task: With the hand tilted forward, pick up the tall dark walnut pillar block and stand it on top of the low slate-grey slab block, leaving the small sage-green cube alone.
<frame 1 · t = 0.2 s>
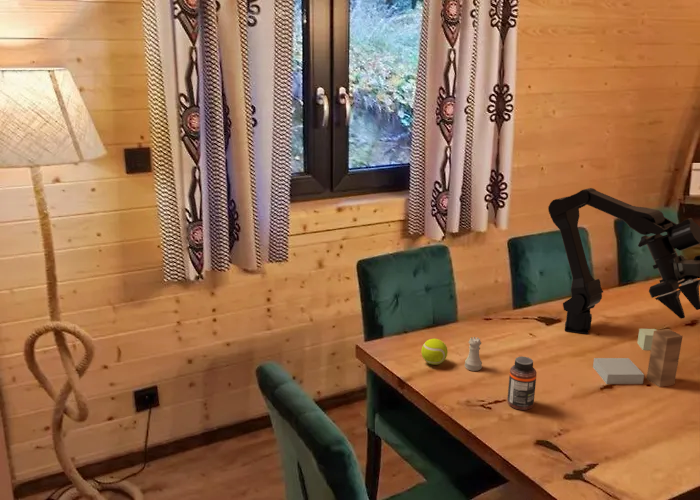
hand: (691, 313, 173), 15 cm above the table, tool tilted 35°, fingers open, 9 cm apart
tennis ball: (433, 364, 177), on the table
slate slab: (616, 376, 172), on the table
supplement bottle: (520, 405, 157), on the table
rook chess piece: (473, 368, 175), on the table
sage cube: (648, 347, 188), on the table
walnut pillar: (660, 381, 169), on the table
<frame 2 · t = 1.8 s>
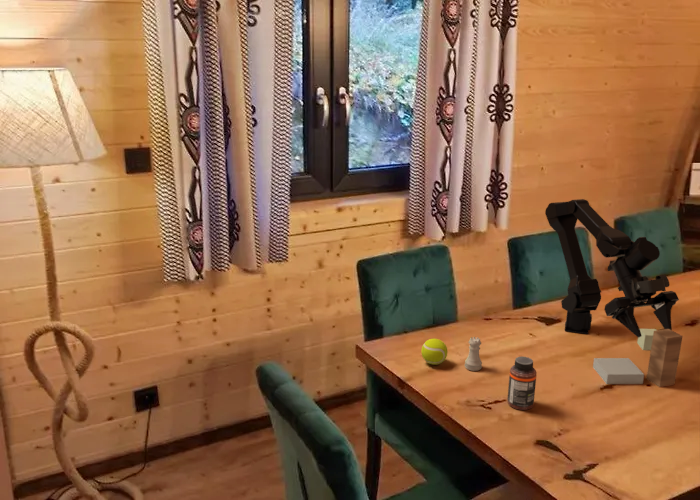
hand: (655, 334, 169), 11 cm above the table, tool tilted 45°, fingers open, 9 cm apart
nothing on the table moved.
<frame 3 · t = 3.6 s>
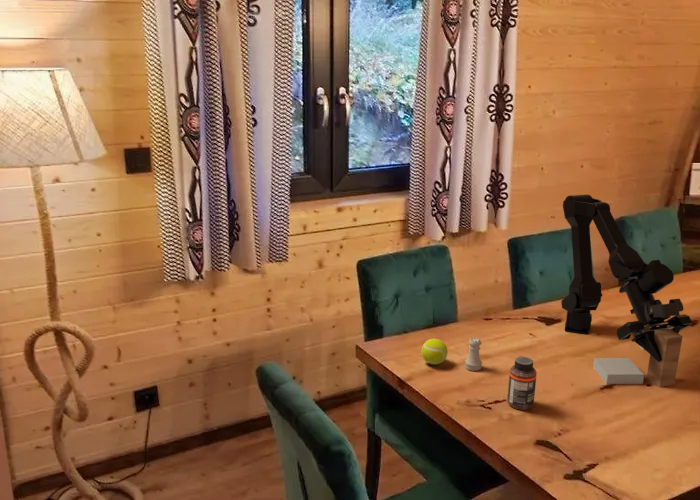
hand: (668, 359, 165), 7 cm above the table, tool tilted 45°, fingers closed on walnut pillar, 4 cm apart
walnut pillar: (660, 381, 169), on the table, touching gripper
everything else where it was.
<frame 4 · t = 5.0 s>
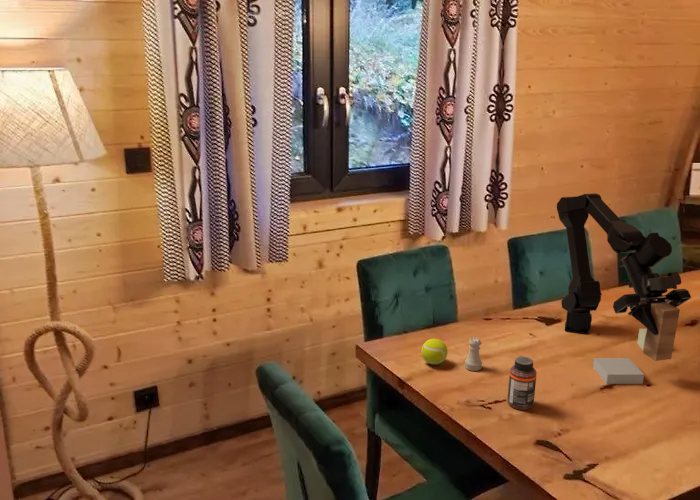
hand: (664, 333, 164), 13 cm above the table, tool tilted 45°, fingers closed on walnut pillar, 4 cm apart
walnut pillar: (657, 355, 167), point 7 cm above the table, touching gripper
everything else where it was.
when the fingers open (10 cm above the table, at t = 6.6 s): walnut pillar drops 1 cm, resting on slate slab.
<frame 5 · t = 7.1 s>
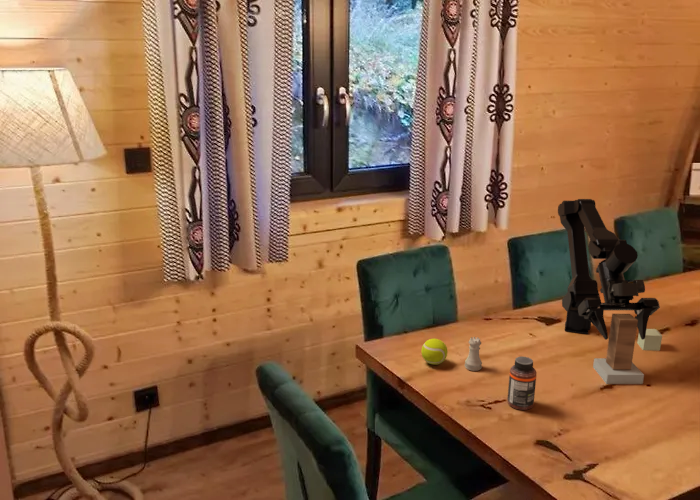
hand: (625, 339, 167), 11 cm above the table, tool tilted 45°, fingers open, 9 cm apart
slate slab: (616, 377, 172), on the table, touching walnut pillar
walnut pillar: (618, 365, 171), point 3 cm above the table, touching slate slab
everything else where it was.
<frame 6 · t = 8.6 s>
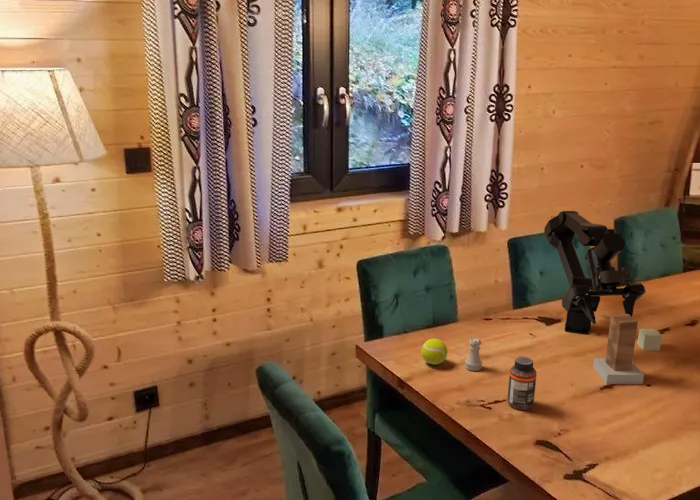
hand: (612, 323, 176), 11 cm above the table, tool tilted 40°, fingers open, 9 cm apart
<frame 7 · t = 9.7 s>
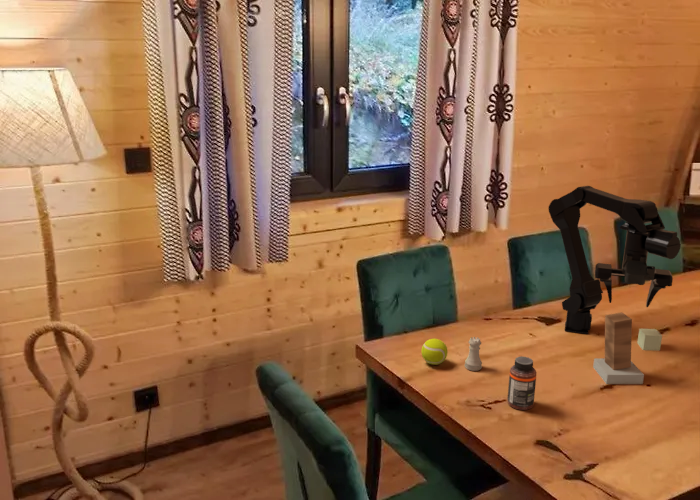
hand: (628, 304, 183), 13 cm above the table, tool pointing down, fingers open, 9 cm apart
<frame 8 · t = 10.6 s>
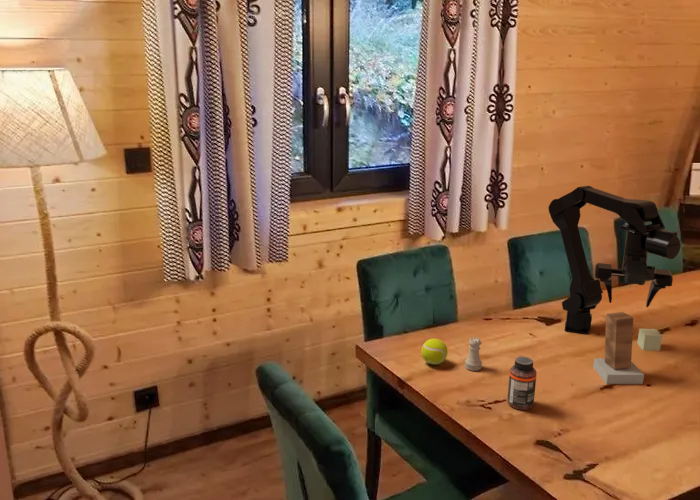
hand: (628, 304, 183), 13 cm above the table, tool pointing down, fingers open, 9 cm apart
at the end: walnut pillar 0.3 cm off-centre on the slate slab, point 3.3 cm above the slate slab's base; walnut pillar tilted 6°; the gripper is holding nothing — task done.
